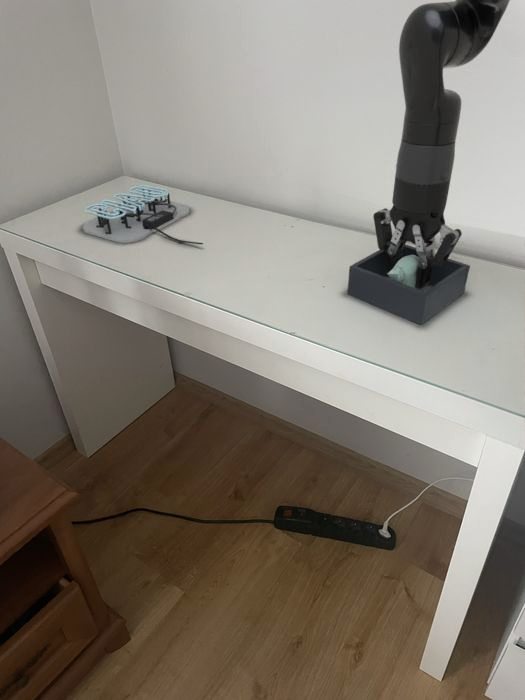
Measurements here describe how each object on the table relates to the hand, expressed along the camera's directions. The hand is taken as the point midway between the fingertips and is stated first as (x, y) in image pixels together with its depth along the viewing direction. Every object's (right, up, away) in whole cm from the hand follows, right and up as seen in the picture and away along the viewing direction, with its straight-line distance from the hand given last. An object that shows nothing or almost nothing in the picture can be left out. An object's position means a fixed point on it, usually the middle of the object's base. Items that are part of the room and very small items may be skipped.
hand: (407, 281), depth 84 cm
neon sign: (-44, +15, +27) cm, 54 cm away
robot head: (0, -2, +1) cm, 2 cm away
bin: (0, -2, +1) cm, 2 cm away
